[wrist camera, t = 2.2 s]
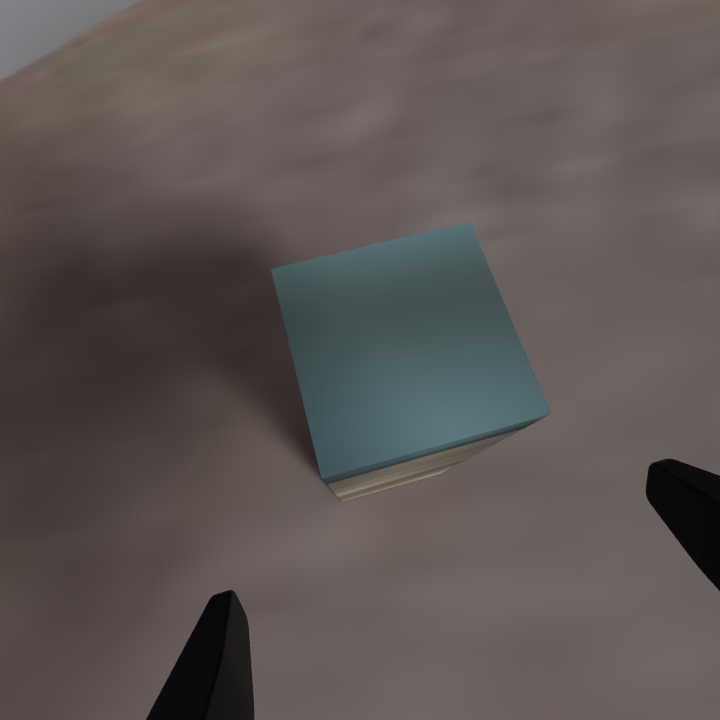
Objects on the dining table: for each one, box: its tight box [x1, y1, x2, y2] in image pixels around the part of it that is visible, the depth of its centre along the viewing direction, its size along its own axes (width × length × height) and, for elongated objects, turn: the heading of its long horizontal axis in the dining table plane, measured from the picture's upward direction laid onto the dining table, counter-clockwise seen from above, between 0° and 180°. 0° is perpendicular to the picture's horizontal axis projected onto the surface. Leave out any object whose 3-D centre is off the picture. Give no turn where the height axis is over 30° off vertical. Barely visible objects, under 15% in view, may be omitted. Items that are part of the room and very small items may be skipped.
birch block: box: [271, 222, 550, 502], centre depth 15 cm, size 4×4×12 cm
